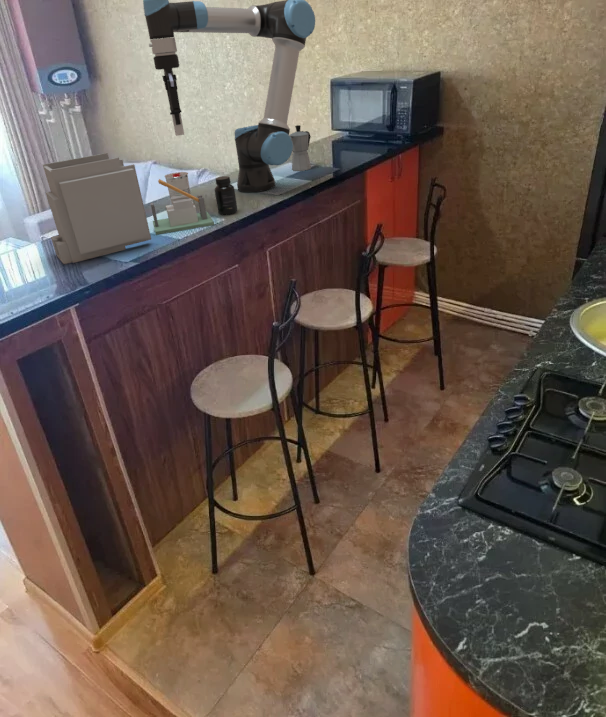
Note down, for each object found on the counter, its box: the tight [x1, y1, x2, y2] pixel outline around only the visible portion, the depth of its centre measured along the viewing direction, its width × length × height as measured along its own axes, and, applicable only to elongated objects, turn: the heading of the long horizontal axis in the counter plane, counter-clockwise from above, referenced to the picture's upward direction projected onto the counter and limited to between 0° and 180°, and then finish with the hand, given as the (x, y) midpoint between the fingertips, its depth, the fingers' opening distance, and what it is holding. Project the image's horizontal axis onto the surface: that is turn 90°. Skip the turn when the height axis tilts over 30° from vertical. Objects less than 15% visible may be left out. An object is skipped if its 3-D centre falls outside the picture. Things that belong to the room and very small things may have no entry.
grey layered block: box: [42, 152, 152, 265], centre depth 170 cm, size 17×27×26 cm, turn 122°
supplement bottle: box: [214, 175, 238, 216], centre depth 197 cm, size 7×7×12 cm
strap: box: [157, 178, 201, 203], centre depth 187 cm, size 15×4×2 cm
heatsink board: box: [149, 194, 215, 236], centre depth 190 cm, size 19×14×8 cm
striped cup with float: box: [164, 171, 192, 203], centre depth 208 cm, size 10×8×12 cm
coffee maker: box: [289, 124, 312, 172], centre depth 248 cm, size 15×9×18 cm, turn 148°
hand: (179, 134), depth 190 cm, fingers closed
